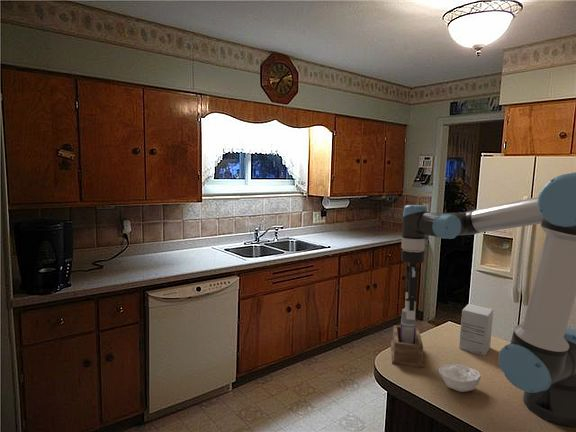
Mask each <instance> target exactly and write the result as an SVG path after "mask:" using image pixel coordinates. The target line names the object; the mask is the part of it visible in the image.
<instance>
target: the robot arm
mask: <svg viewBox="0 0 576 432" xmlns="http://www.w3.org/2000/svg"><path fill="white" fill-rule="evenodd" d="M533 225H534V226H535V225H540V228H541V229H542V230H543V231H544V233H545V238H544V242H543V245H542V251H541V254H540V258H539V261H538V266H537V269H536V273H535V277H534V281H533V284H532V288H531V291H530V294H529V295H530V296H529V298H528V303H527V306H526V310H525V314H524V318H523V321H522V323H521V324H517V325H516V326H515V327H514V329H513V332H512V336H511V339H510V343H509V344H505V345H504V346H503V347H502V348H501V349H500V351H499V353H498V365H499V369H500V370H501V372H502V373H503V374H504V377H505V378H506V380H508V381H509V383H511V385H512V386H514V387H516V388H518V389H519V390H521V391H523V403H524V405H525V406H526V407H527V409H529V411H531V412H532V413H534V414H535V415H537V416H538V417H540V418H542V419H545V420H546V421H549V422H551V423H554V424H557V425H560V426H565V427H571V428H576V329H575V328H571V327H568V324H569V321H570V317H571V314H572V310H573V307H574V303H575V301H576V172H570V173H565V174H561V175H557V176H555V177H553V178H552V179H550V180H549V181H548V182H546V184H544V186H543V187H542V189H540V192H539V195H538V196H534V197H530V198H526V199H520V200H515V201H512V202H507V203H502V204H498V205H497V204H496V205H493V206H487V207H484V208H483V207H482V208H478V209H473V210H469V211H468V210H467V211H463V212H461V211H460V212H444V213H442V212H441V213H440V212H439V213H438V212H430V211H429V212H428V208H427V206H426V205H423V204H421V205H420V204H406V205H404V207H403V213H402V235H401V249H402V250H401V251H400V260H401V261H402V262H404V263H406V265H405V301H404V308H407V317H406V319H410V320H415V321H416V312H417V311H416V309H417V307H416V305H417V301H418V296H417V295H418V291H417V290H418V279H419V275H418V274H419V272H420V271H419V267H418V265H417V264H423V263H424V262H425V251H424V250H425V245H426V244H427V243H428V241H426V236H429V237H430V236H431V237H434V238H439V239H447V240H448V239H449V240H451V239H455V238H456V237H457V236H473V235H476V234H480V233H486V232H487V233H488V232H493V231H501V230H507V229H513V228H521V227H528V226H533Z"/></svg>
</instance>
